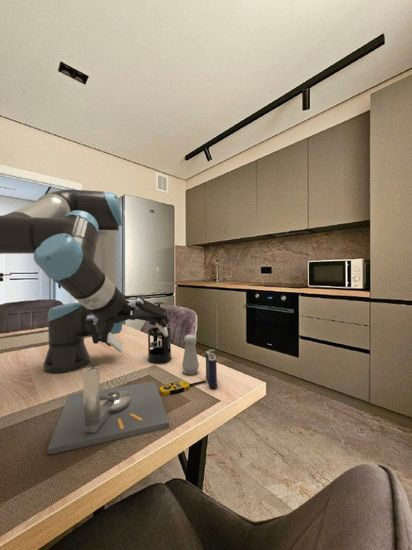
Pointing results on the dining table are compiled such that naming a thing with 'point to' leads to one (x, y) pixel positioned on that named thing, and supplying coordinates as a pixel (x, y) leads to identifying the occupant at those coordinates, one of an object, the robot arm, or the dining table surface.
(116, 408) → the silver faucet
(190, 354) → the salt shaker
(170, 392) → the yellow walkie-talkie
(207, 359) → the flask
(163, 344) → the french press
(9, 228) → the robot arm
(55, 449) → the plate
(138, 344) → the dining table surface
